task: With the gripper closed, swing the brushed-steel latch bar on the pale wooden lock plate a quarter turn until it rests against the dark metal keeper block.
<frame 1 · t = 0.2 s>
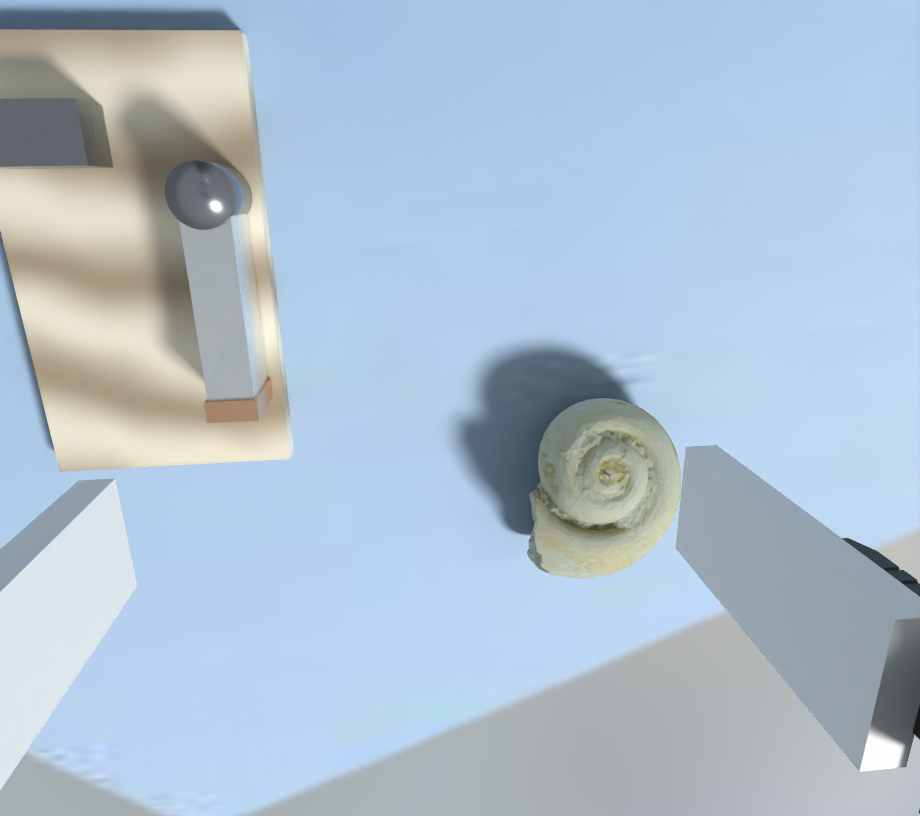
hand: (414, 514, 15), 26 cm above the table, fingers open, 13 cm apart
latch bar: (225, 294, 34), point 4 cm above the table, hinge at 0.0°
lock plate: (151, 268, 37), on the table
keeper: (58, 138, 33), resting on lock plate
seashell: (583, 472, 45), on the table
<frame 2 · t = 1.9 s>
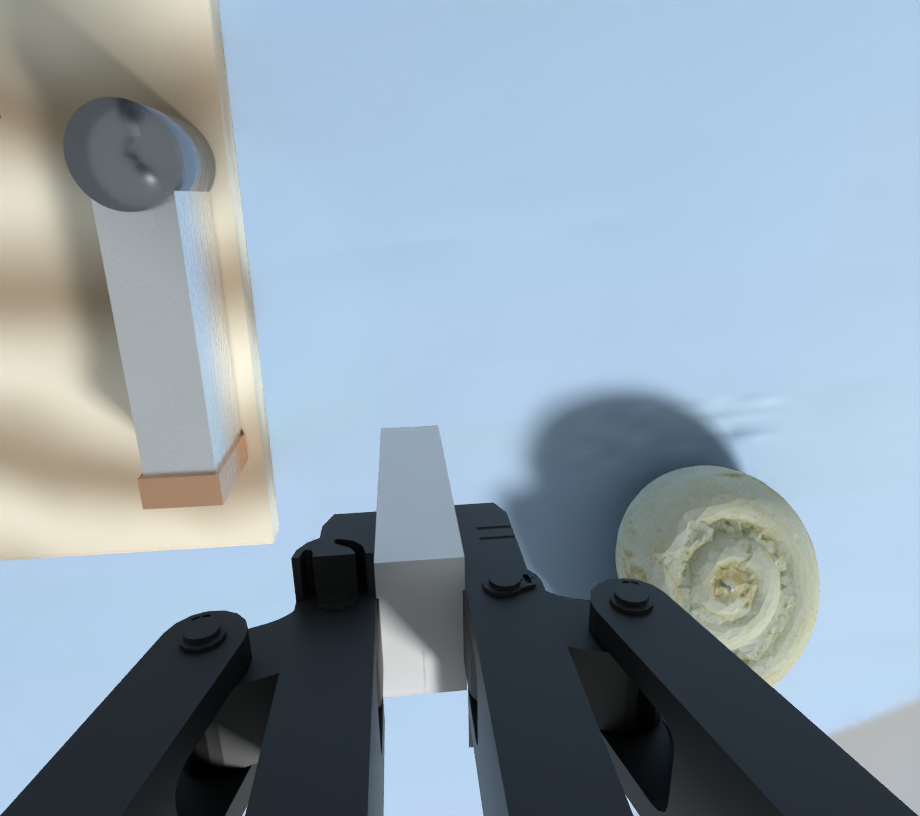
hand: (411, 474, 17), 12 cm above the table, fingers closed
latch bar: (172, 313, 22), point 4 cm above the table, hinge at 0.0°
lock plate: (70, 272, 25), on the table
seashell: (666, 559, 33), on the table
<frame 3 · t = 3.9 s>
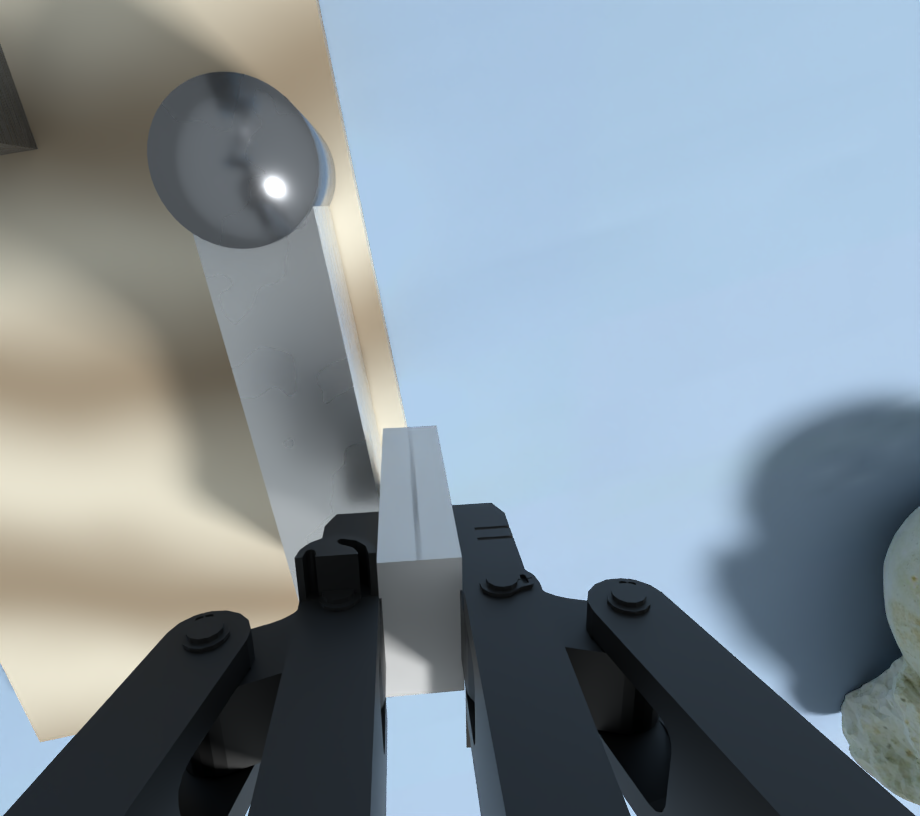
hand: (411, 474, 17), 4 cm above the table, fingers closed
latch bar: (309, 382, 16), point 4 cm above the table, hinge at -0.4°, touching gripper
lock plate: (151, 345, 19), on the table
seashell: (919, 598, 26), on the table
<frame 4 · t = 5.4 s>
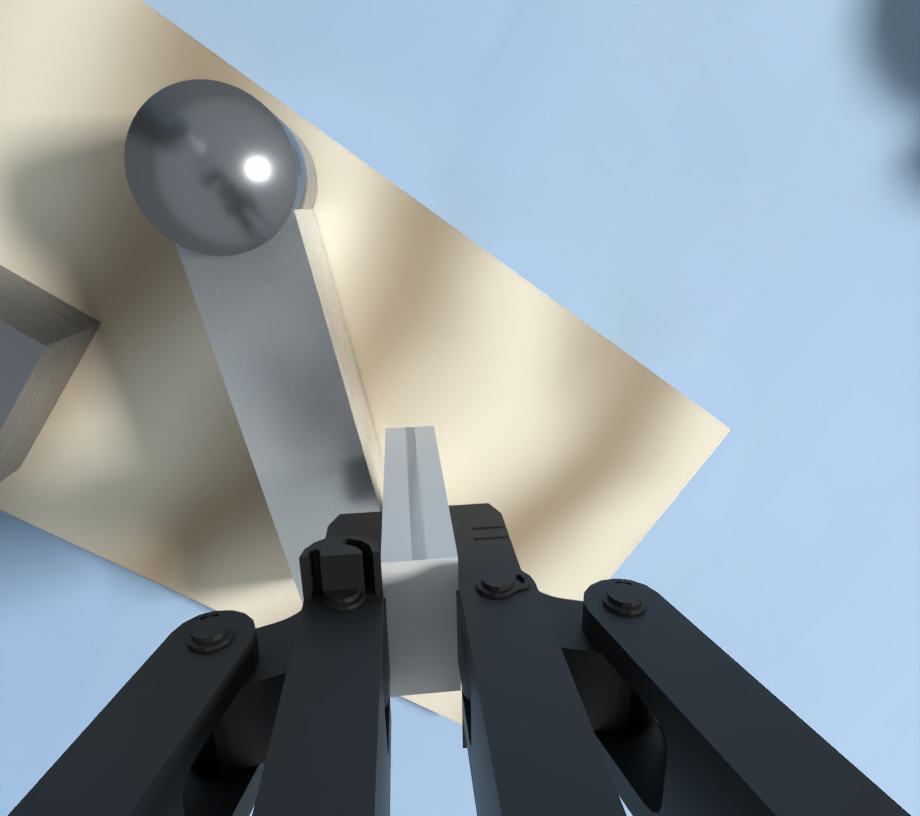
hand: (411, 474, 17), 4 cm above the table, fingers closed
latch bar: (301, 386, 16), point 4 cm above the table, hinge at -42.9°, touching gripper
lock plate: (297, 397, 20), on the table
keeper: (5, 368, 17), resting on lock plate
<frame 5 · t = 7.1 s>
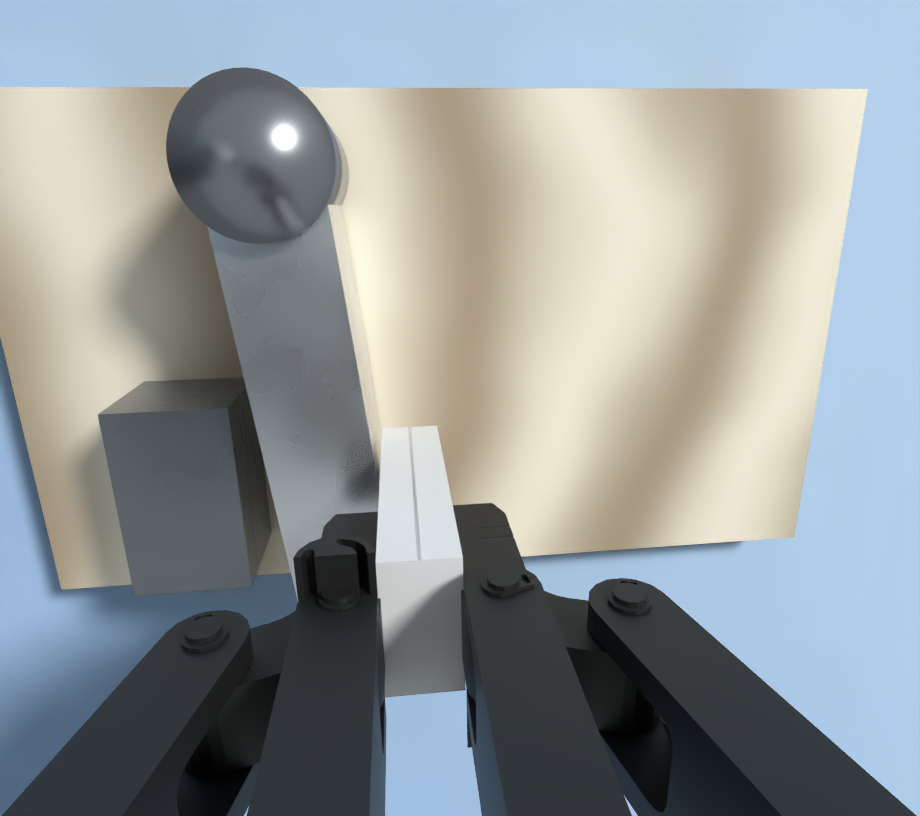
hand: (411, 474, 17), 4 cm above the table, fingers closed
latch bar: (315, 380, 16), point 4 cm above the table, hinge at -83.8°, touching gripper
lock plate: (439, 342, 20), on the table
keeper: (211, 460, 19), resting on lock plate
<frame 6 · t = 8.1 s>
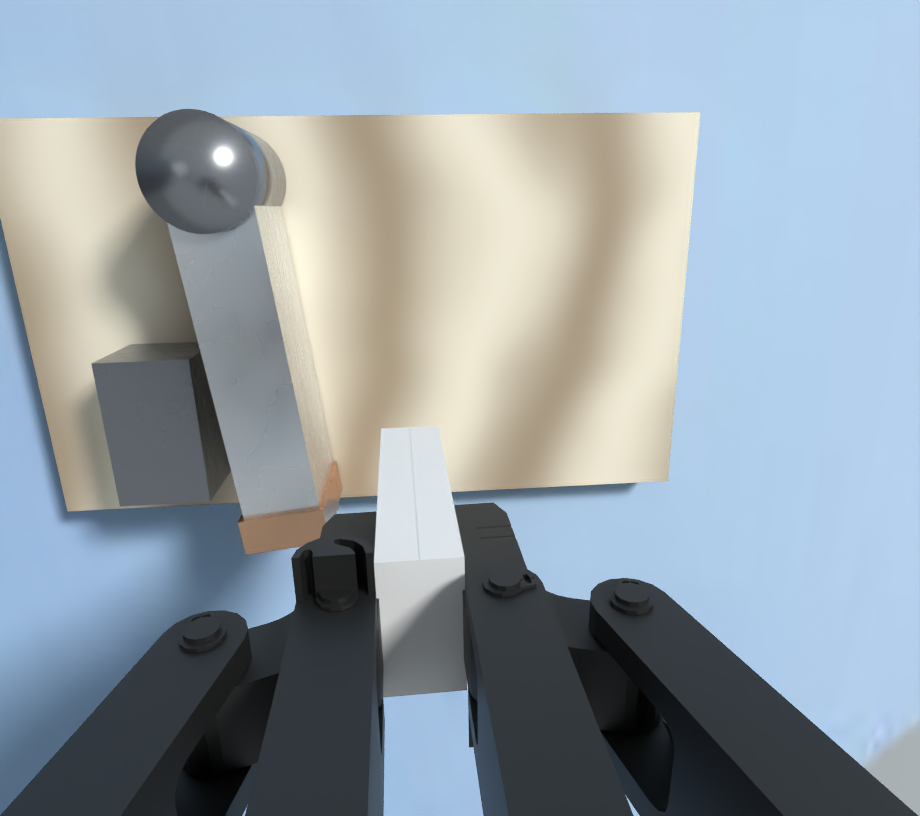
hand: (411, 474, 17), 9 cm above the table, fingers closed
latch bar: (256, 340, 21), point 4 cm above the table, hinge at -83.9°
lock plate: (368, 316, 25), on the table
keeper: (183, 408, 24), resting on lock plate
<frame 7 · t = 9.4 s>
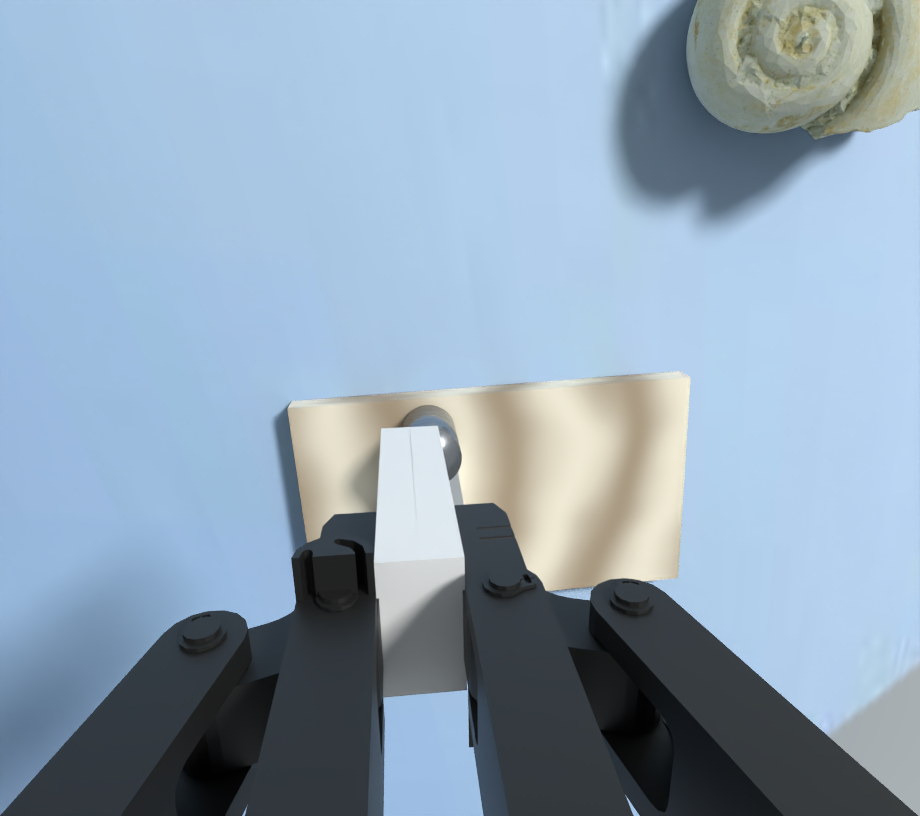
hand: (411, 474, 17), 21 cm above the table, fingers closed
latch bar: (445, 523, 37), point 4 cm above the table, hinge at -83.9°
lock plate: (494, 489, 41), on the table
seashell: (780, 50, 34), on the table
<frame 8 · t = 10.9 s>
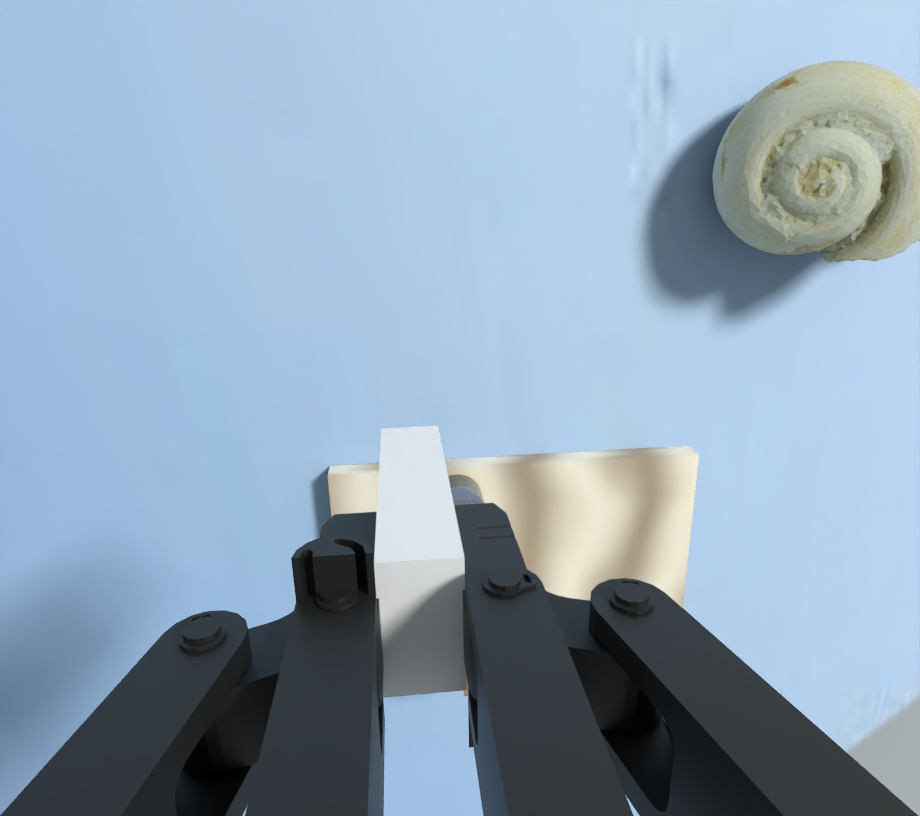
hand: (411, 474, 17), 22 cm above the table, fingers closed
latch bar: (470, 584, 40), point 4 cm above the table, hinge at -83.9°
lock plate: (513, 549, 44), on the table
seashell: (795, 171, 38), on the table
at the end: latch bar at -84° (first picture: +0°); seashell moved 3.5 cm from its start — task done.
